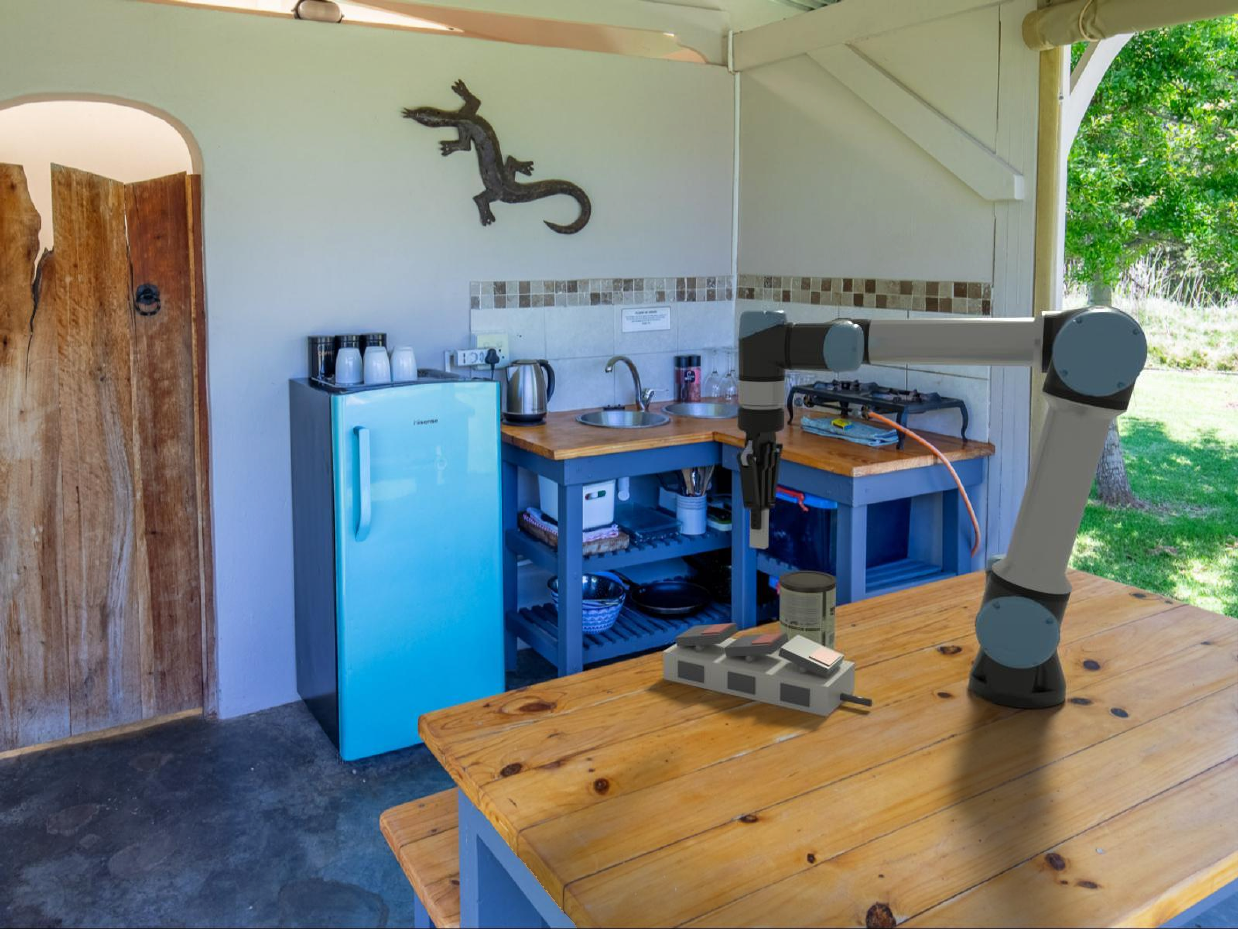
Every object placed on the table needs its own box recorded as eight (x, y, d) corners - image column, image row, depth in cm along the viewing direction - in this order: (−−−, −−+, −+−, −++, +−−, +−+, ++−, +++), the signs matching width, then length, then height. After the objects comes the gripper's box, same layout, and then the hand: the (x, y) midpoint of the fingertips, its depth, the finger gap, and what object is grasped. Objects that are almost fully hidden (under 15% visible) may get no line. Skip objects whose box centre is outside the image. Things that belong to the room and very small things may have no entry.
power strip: (883, 697, 174) (884, 660, 173) (857, 724, 164) (858, 685, 163) (696, 657, 193) (696, 624, 191) (662, 679, 182) (662, 644, 181)
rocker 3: (841, 663, 174) (844, 654, 174) (825, 677, 168) (828, 667, 168) (795, 642, 178) (798, 633, 178) (778, 655, 172) (781, 646, 172)
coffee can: (776, 641, 200) (778, 569, 198) (831, 642, 199) (833, 570, 197) (779, 661, 190) (780, 586, 188) (837, 662, 189) (839, 587, 187)
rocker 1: (738, 631, 184) (736, 621, 184) (719, 644, 178) (717, 633, 178) (696, 634, 189) (694, 624, 189) (677, 646, 183) (675, 636, 183)
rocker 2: (788, 641, 179) (786, 631, 179) (771, 654, 173) (769, 643, 173) (744, 644, 184) (742, 634, 184) (726, 656, 178) (724, 646, 178)
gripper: (757, 400, 178) (755, 535, 182) (721, 409, 167) (720, 553, 172) (798, 402, 174) (795, 541, 178) (765, 412, 163) (762, 559, 168)
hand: (758, 546), depth 175 cm, fingers closed
